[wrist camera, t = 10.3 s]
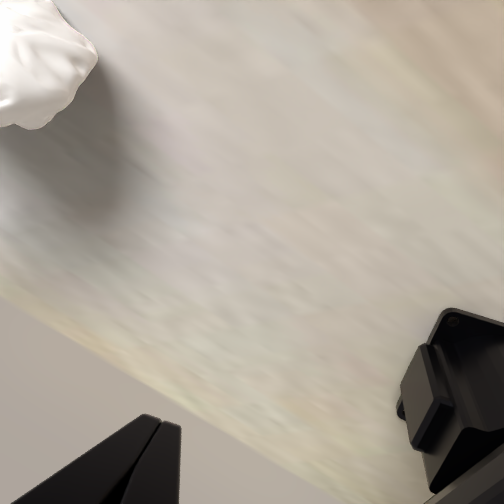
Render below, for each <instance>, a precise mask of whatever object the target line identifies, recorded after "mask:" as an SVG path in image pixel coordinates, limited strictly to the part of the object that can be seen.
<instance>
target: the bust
mask: <svg viewBox="0 0 504 504" xmlns="http://www.w3.org/2000/svg"><path fill="white" fill-rule="evenodd" d="M97 61H98V54H97V51H96V49H95V48H94V46H93V45H92V43H91V42H90V41H89V40H88V39H87V38H85V37H84V36H83V35H82V34H80V33H79V32H77V31H76V30H75V29H73V28H72V27H71V26H70V25H69V24H68V23H67V22H66V21H65V20H64V19H63V17H62V16H61V14H60V12H59V11H58V9H57V7H56V6H55V5H54V3H53V2H52V1H51V0H0V127H7V126H9V125H11V124H17V125H19V126H20V127H22V128H25V129H28V130H31V129H38V128H42V127H43V126H45V125H46V124H47V123H48V122H50V121H51V120H52V118H53V117H54V116H55V115H56V113H57V112H60V111H62V110H63V109H65V108H66V107H67V106H68V105H69V104H70V103H71V102H72V101H73V99H74V97H75V94H76V91H77V89H78V87H79V86H80V84H82V83H83V82H84V80H85V79H86V77H87V76H88V74H89V73H90V72H91V70H92V69H93V68H94V66H95V65H96V63H97Z"/></svg>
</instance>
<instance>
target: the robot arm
mask: <svg viewBox="0 0 504 504" xmlns="http://www.w3.org/2000/svg"><path fill="white" fill-rule="evenodd" d="M450 317H456V318H457V319H456V320H455V321H454V322H448V321H447V320H448V319H449V318H450ZM400 388H401V393H402V394H401V396H400V398H399V400H398V402H397V405H396V410H397V415H398V416H399V418H401V419H402V420H405V421H406V423H407V428H408V434H409V440H410V444H411V445H412V447H413V449H414V450H417V451H420V452H422V456H423V461H424V466H425V471H426V476H427V481H428V486H429V489H430V491H431V492H432V493H434V494H436V495H434V496H433V497H432V498H430V499H429V500H428V501H426V502H425V503H424V504H504V323H502V322H499V321H496V320H493V319H489V318H486V317H483V316H479V315H476V314H473V313H470V312H466V311H463V310H460V309H457V308H447V309H445V310H443V311H442V312H441V314H440V316H439V318H438V320H437V322H436V324H435V326H434V328H433V330H432V332H431V334H430V336H429V338H428V340H427V343H424V344H422V345H420V346H419V347H418V349H417V351H416V353H415V355H414V357H413V359H412V361H411V363H410V365H409V367H408V370H407V372H406V374H405V376H404V378H403V380H402V382H401V384H400ZM403 410H404V411H403ZM180 457H181V426H179V425H177V424H174V423H171V422H168V421H163V422H162V421H161V419H160V418H157V417H154V416H151V415H148V414H142V415H140V416H139V417H137V418H136V419H134V420H133V421H132V422H130V423H128V424H127V425H125V426H124V427H122V428H121V429H120V430H118V431H117V432H115V433H114V434H112V435H111V436H109V437H108V438H106V439H105V440H103V441H102V442H100V443H99V444H97V445H96V446H95V447H93V448H92V449H90V450H89V451H87V452H86V453H85V454H83V455H81V456H80V457H78V458H77V459H75V460H74V461H72V462H71V463H70V464H68V465H67V466H65V467H64V468H62V469H61V470H59V471H58V472H57V473H55V474H53V475H52V476H50V477H49V478H48V479H46V480H45V481H43V482H42V483H40V484H39V485H37V486H36V487H34V488H33V489H31V490H30V491H28V492H27V493H25V494H24V495H23V496H21V497H20V498H18V499H17V500H15V501H14V502H12V503H11V504H179V485H180Z"/></svg>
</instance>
